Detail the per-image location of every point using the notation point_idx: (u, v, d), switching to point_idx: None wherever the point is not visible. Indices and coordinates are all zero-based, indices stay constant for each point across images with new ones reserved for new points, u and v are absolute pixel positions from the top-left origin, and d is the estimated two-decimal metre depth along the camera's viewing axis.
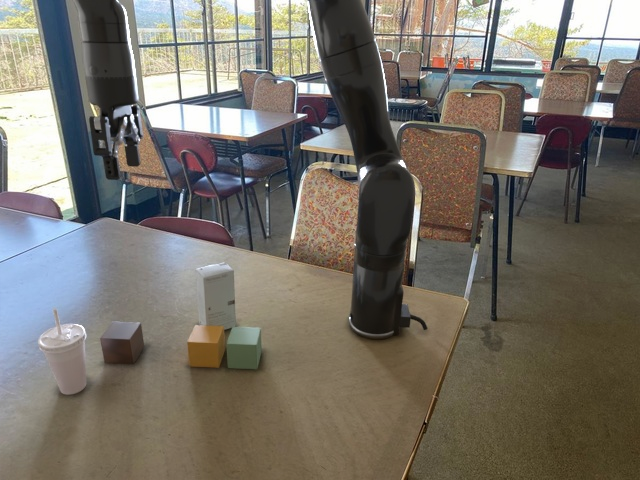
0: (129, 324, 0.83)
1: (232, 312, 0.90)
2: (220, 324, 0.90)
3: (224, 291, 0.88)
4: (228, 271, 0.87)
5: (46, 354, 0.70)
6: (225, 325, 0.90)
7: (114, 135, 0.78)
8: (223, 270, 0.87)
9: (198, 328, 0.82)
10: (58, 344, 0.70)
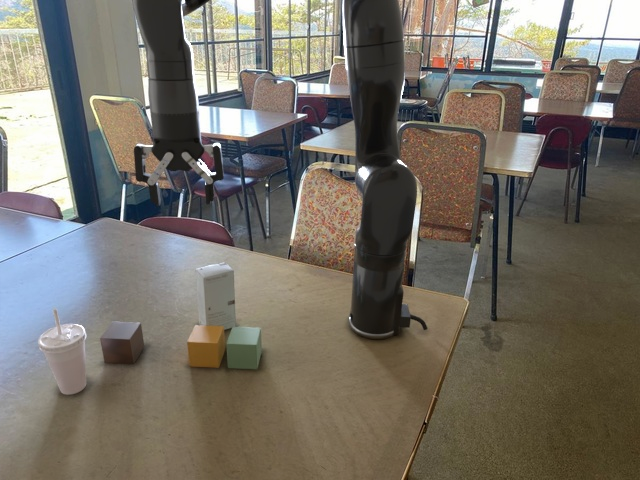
0: (129, 324, 0.83)
1: (232, 312, 0.90)
2: (220, 324, 0.90)
3: (224, 291, 0.88)
4: (228, 271, 0.87)
5: (46, 354, 0.70)
6: (225, 325, 0.90)
7: None
8: (223, 270, 0.87)
9: (198, 328, 0.82)
10: (58, 344, 0.70)
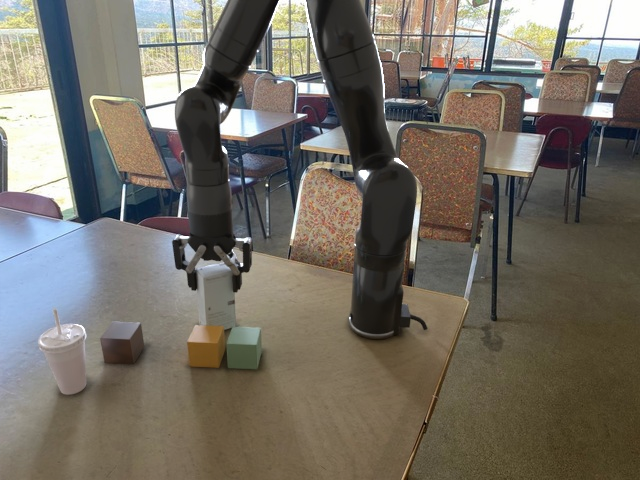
0: (129, 324, 0.83)
1: (232, 312, 0.90)
2: (220, 324, 0.90)
3: (224, 291, 0.88)
4: (228, 271, 0.87)
5: (46, 354, 0.70)
6: (225, 325, 0.90)
7: None
8: (223, 270, 0.87)
9: (198, 328, 0.82)
10: (58, 344, 0.70)
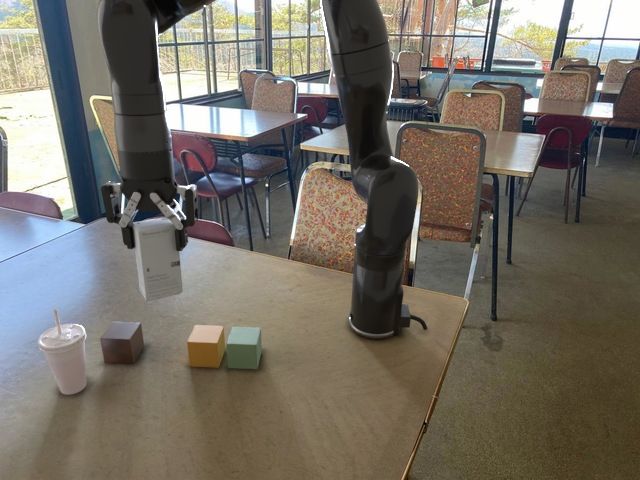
0: (129, 324, 0.83)
1: (177, 275, 0.77)
2: (162, 289, 0.76)
3: (166, 250, 0.74)
4: (170, 225, 0.74)
5: (46, 354, 0.70)
6: (169, 291, 0.77)
7: None
8: (164, 224, 0.74)
9: (198, 328, 0.82)
10: (58, 344, 0.70)
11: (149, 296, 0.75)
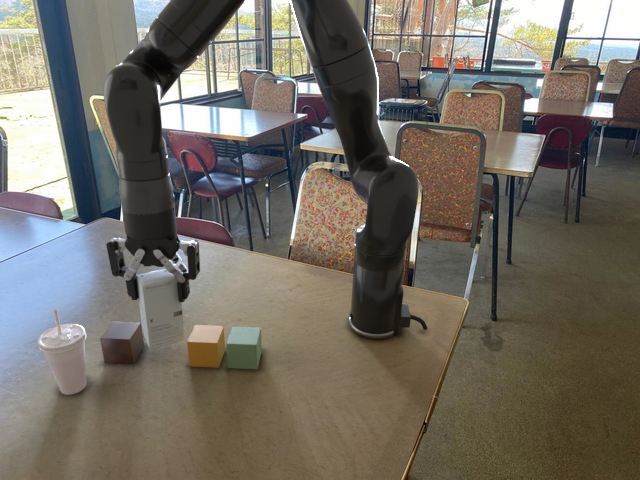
0: (129, 324, 0.83)
1: (179, 324, 0.80)
2: (165, 338, 0.79)
3: (168, 301, 0.77)
4: (173, 278, 0.77)
5: (46, 354, 0.70)
6: (171, 339, 0.80)
7: None
8: (166, 277, 0.77)
9: (198, 328, 0.82)
10: (58, 344, 0.70)
11: (152, 345, 0.78)
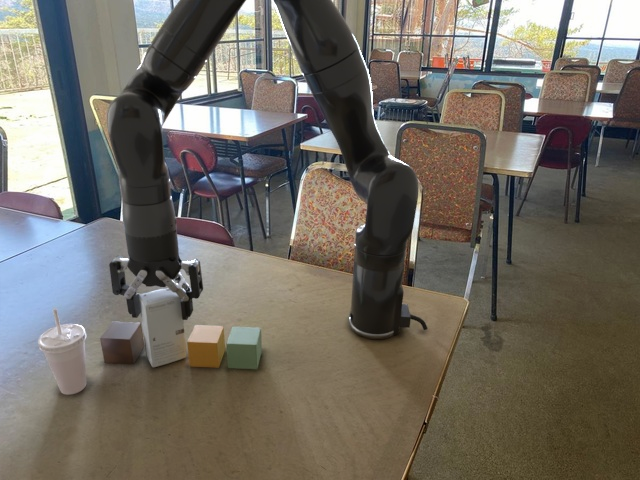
0: (129, 324, 0.83)
1: (181, 342, 0.81)
2: (168, 356, 0.81)
3: (171, 320, 0.79)
4: (175, 297, 0.78)
5: (46, 354, 0.70)
6: (173, 357, 0.81)
7: None
8: (169, 297, 0.78)
9: (198, 328, 0.82)
10: (58, 344, 0.70)
11: (155, 363, 0.80)
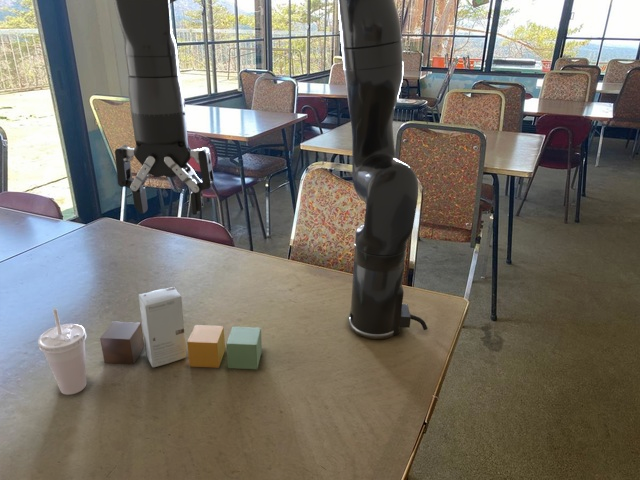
0: (129, 324, 0.83)
1: (181, 342, 0.81)
2: (168, 356, 0.81)
3: (171, 320, 0.79)
4: (175, 297, 0.78)
5: (46, 354, 0.70)
6: (173, 357, 0.81)
7: None
8: (169, 297, 0.78)
9: (198, 328, 0.82)
10: (58, 344, 0.70)
11: (155, 363, 0.80)
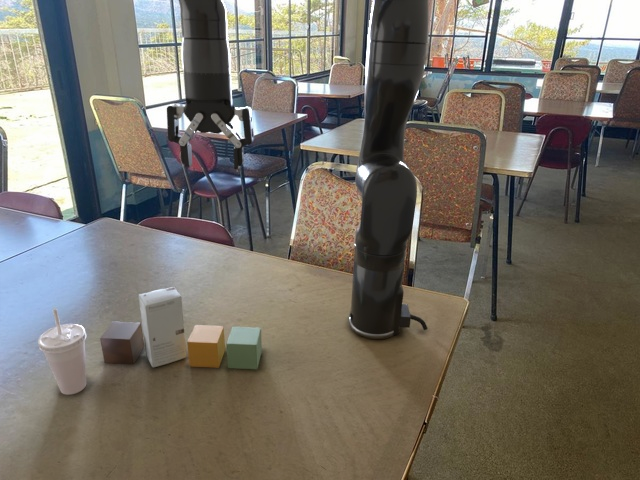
0: (129, 324, 0.83)
1: (181, 342, 0.81)
2: (168, 356, 0.81)
3: (171, 320, 0.79)
4: (175, 297, 0.78)
5: (46, 354, 0.70)
6: (173, 357, 0.81)
7: None
8: (169, 297, 0.78)
9: (198, 328, 0.82)
10: (58, 344, 0.70)
11: (155, 363, 0.80)
